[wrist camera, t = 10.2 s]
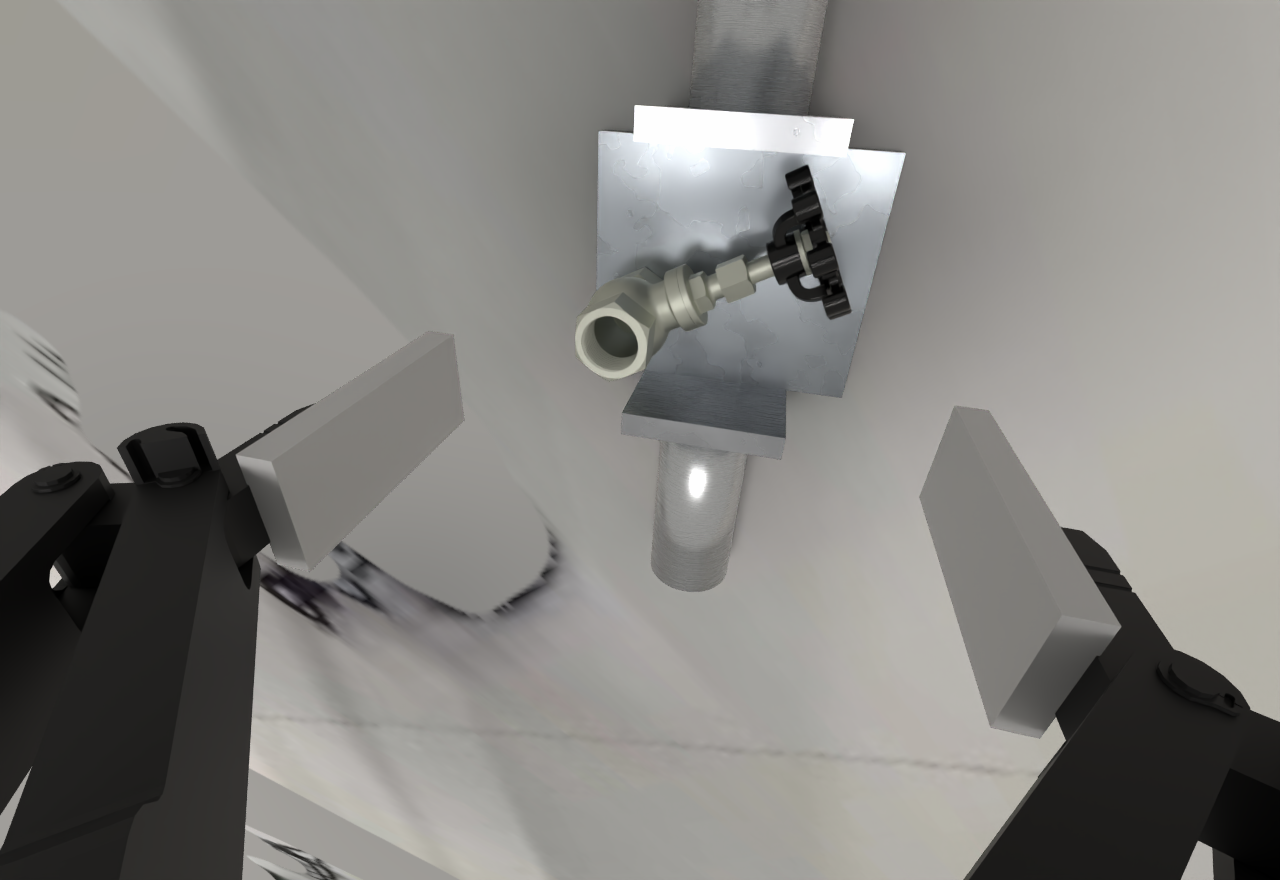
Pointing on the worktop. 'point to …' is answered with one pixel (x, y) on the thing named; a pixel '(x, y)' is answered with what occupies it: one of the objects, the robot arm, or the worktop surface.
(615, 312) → the valve
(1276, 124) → the worktop surface
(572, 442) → the worktop surface
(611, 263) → the pipe run
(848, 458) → the worktop surface
